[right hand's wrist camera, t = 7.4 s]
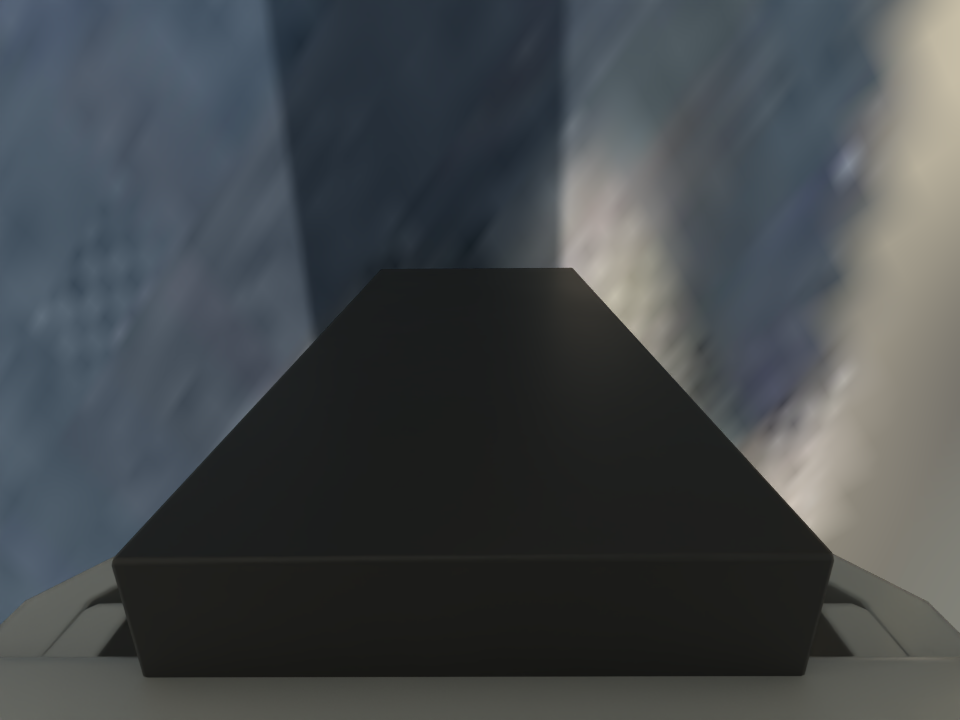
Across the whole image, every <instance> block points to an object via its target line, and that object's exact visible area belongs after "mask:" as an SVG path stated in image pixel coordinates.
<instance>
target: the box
mask: <svg viewBox="0 0 960 720" xmlns="http://www.w3.org/2000/svg"><path fill="white" fill-rule="evenodd" d="M833 563H834V556H833V554H832V552H831V551H830V550H829V549H828V548H827V546H826V545H825V544H824V543H823V542H822V541H821V540H820V539H819V538H818V537H817V536H816V534H815V533H814V532H813V531H812V530H811V529H810V528H809V527H808V526H807V525H806V523H805V522H804V521H803V520H802V519H801V518H800V517H799V516H798V515H797V514H796V513H795V511H794V510H793V509H792V508H791V507H790V506H789V505H788V504H787V503H786V502H785V500H784V499H783V498H782V497H781V496H780V495H779V494H778V493H777V492H776V491H775V490H774V488H773V487H772V486H771V485H770V484H769V483H768V482H767V481H766V480H765V479H764V477H763V476H762V475H761V474H760V473H759V472H758V471H757V470H756V469H755V468H754V466H753V465H752V464H751V463H750V462H749V461H748V460H747V459H746V458H745V457H744V456H743V454H742V453H741V452H740V451H739V450H738V449H737V448H736V447H735V446H734V445H733V443H732V442H731V441H730V440H729V439H728V438H727V437H726V436H725V435H724V434H723V433H722V431H721V430H720V429H719V428H718V427H717V426H716V425H715V424H714V423H713V422H712V420H711V419H710V418H709V417H708V416H707V415H706V414H705V413H704V412H703V411H702V410H701V408H700V407H699V406H698V405H697V404H696V403H695V402H694V401H693V400H692V399H691V397H690V396H689V395H688V394H687V393H686V392H685V391H684V390H683V389H682V388H681V386H680V385H679V384H678V383H677V382H676V381H675V380H674V379H673V378H672V377H671V376H670V374H669V373H668V372H667V371H666V370H665V369H664V368H663V367H662V366H661V365H660V363H659V362H658V361H657V360H656V359H655V358H654V357H653V356H652V355H651V354H650V353H649V351H648V350H647V349H646V348H645V347H644V346H643V345H642V344H641V343H640V342H639V340H638V339H637V338H636V337H635V336H634V335H633V334H632V333H631V332H630V331H629V330H628V328H627V327H626V326H625V325H624V324H623V323H622V322H621V321H620V320H619V319H618V317H617V316H616V315H615V314H614V313H613V312H612V311H611V310H610V309H609V308H608V307H607V305H606V304H605V303H604V302H603V301H602V300H601V299H600V298H599V297H598V296H597V294H596V293H595V292H594V291H593V290H592V289H591V288H590V287H589V286H588V285H587V283H586V282H585V281H584V280H583V279H582V278H581V277H580V276H579V275H578V274H577V273H576V271H575V270H574V269H573V268H484V269H382V270H380V271H379V272H378V273H377V275H376V276H375V277H374V278H373V279H372V280H371V281H370V282H369V283H368V284H367V285H366V286H365V287H364V289H363V290H362V291H361V292H360V293H359V294H358V295H357V296H356V297H355V298H354V299H353V300H352V301H351V303H350V304H349V305H348V306H347V307H346V308H345V309H344V310H343V311H342V312H341V313H340V314H339V315H338V317H337V318H336V319H335V320H334V321H333V322H332V323H331V324H330V325H329V326H328V327H327V328H326V329H325V331H324V332H323V333H322V334H321V335H320V336H319V337H318V338H317V339H316V340H315V341H314V342H313V343H312V345H311V346H310V347H309V348H308V349H307V350H306V351H305V352H304V353H303V354H302V355H301V356H300V358H299V359H298V360H297V361H296V362H295V363H294V364H293V365H292V366H291V367H290V368H289V369H288V370H287V372H286V373H285V374H284V375H283V376H282V377H281V378H280V379H279V380H278V381H277V382H276V383H275V384H274V386H273V387H272V388H271V389H270V390H269V391H268V392H267V393H266V394H265V395H264V396H263V397H262V398H261V400H260V401H259V402H258V403H257V404H256V405H255V406H254V407H253V408H252V409H251V410H250V411H249V412H248V414H247V415H246V416H245V417H244V418H243V419H242V420H241V421H240V422H239V423H238V424H237V425H236V427H235V428H234V429H233V430H232V431H231V432H230V433H229V434H228V435H227V436H226V437H225V438H224V439H223V441H222V442H221V443H220V444H219V445H218V446H217V447H216V448H215V449H214V450H213V451H212V452H211V453H210V455H209V456H208V457H207V458H206V459H205V460H204V461H203V462H202V463H201V464H200V465H199V466H198V467H197V469H196V470H195V471H194V472H193V473H192V474H191V475H190V476H189V477H188V478H187V479H186V480H185V481H184V483H183V484H182V485H181V486H180V487H179V488H178V489H177V490H176V491H175V492H174V493H173V494H172V495H171V497H170V498H169V499H168V500H167V501H166V502H165V503H164V504H163V505H162V506H161V507H160V508H159V510H158V511H157V512H156V513H155V514H154V515H153V516H152V517H151V518H150V519H149V520H148V521H147V522H146V524H145V525H144V526H143V527H142V528H141V529H140V530H139V531H138V532H137V533H136V534H135V535H134V536H133V538H132V539H131V540H130V541H129V542H128V543H127V544H126V545H125V546H124V547H123V548H122V549H121V550H120V552H119V553H118V554H117V555H116V556H115V557H114V558H113V561H112V569H113V572H114V576H115V579H116V583H117V586H118V590H119V593H120V597H121V600H122V604H123V607H124V611H125V614H126V618H127V621H128V625H129V628H130V632H131V635H132V639H133V642H134V646H135V649H136V653H137V656H138V660H139V663H140V667H141V670H142V674H143V676H144V677H147V678H178V677H623V676H802V675H805V671H806V667H807V664H808V660H809V656H810V652H811V648H812V644H813V640H814V637H815V633H816V629H817V625H818V621H819V617H820V613H821V610H822V606H823V602H824V598H825V594H826V590H827V587H828V583H829V579H830V575H831V571H832V567H833Z"/></svg>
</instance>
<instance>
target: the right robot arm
mask: <svg viewBox="0 0 960 720" xmlns="http://www.w3.org/2000/svg"><path fill="white" fill-rule="evenodd" d="M833 556H834V563H833V567H832V571H831V575H830V579H829V583H828V587H827V590H826V594H825V598H824V602H823V606H822V610H821V613H820V617H819V621H818V625H817V629H816V633H815V637H814V640H813V644H812V648H811V652H810V656H809V660H808V664H807V667H806V671H805V675H802V676H623V677H178V678H147V677H144V676H143V674H142V670H141V667H140V663H139V660H138V656H137V653H136V649H135V646H134V642H133V639H132V635H131V632H130V628H129V625H128V621H127V618H126V614H125V611H124V607H123V604H122V600H121V597H120V593H119V590H118V586H117V583H116V579H115V576H114V572H113V569H112V561H113V558H114V557H115V556H114V557H112V558H110V559H108V560H106V561H104V562H102V563H100V564H98V565H96V566H94V567H92V568H90V569H88V570H86V571H84V572H82V573H80V574H78V575H76V576H74V577H72V578H70V579H68V580H66V581H64V582H62V583H60V584H58V585H56V586H54V587H52V588H50V589H48V590H46V591H44V592H42V593H40V594H38V595H36V596H34V597H32V598H30V599H28V600H26V601H25V602H24V603H23V604H22V605H21V606H19V607H18V608H17V609H16V610H15V611H14V612H13V613H12V614H11V615H10V616H9V617H8V618H7V619H6V620H5V621H4V622H3V623H2V624H1V625H0V720H960V633H959V632H958V631H957V630H956V629H955V628H954V627H953V626H952V625H951V624H950V623H949V622H948V621H947V620H946V619H945V618H944V617H943V616H942V615H941V614H940V613H939V612H938V611H937V610H936V609H935V608H934V607H933V606H932V605H931V604H930V603H929V602H927V601H925V600H924V599H922V598H920V597H918V596H916V595H914V594H912V593H910V592H908V591H906V590H904V589H902V588H900V587H898V586H896V585H894V584H892V583H890V582H888V581H886V580H884V579H882V578H880V577H878V576H876V575H874V574H872V573H870V572H868V571H866V570H864V569H862V568H860V567H858V566H856V565H854V564H852V563H850V562H848V561H846V560H844V559H842V558H840V557H838V556H836V555H834V554H833Z"/></svg>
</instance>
